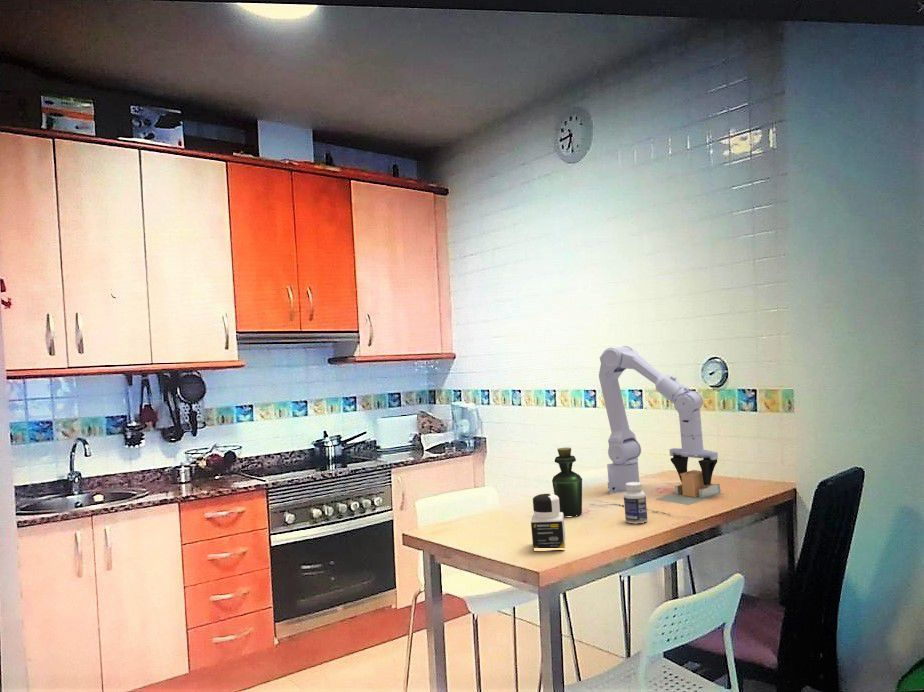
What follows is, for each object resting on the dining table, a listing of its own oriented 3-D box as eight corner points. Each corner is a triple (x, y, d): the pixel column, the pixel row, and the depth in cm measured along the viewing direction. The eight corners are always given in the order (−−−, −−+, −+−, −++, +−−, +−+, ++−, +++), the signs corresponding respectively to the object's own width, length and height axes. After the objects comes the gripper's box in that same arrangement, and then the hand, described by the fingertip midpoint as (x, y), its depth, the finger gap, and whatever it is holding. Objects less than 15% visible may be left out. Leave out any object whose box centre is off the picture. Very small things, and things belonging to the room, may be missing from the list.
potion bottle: (555, 511, 188) (550, 447, 188) (585, 510, 187) (579, 445, 187) (554, 518, 180) (548, 451, 180) (585, 517, 179) (579, 450, 179)
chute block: (696, 497, 185) (694, 475, 185) (681, 494, 189) (679, 473, 189) (709, 493, 188) (707, 471, 188) (695, 490, 192) (693, 470, 192)
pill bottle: (642, 525, 167) (639, 486, 167) (622, 523, 170) (619, 485, 170) (651, 520, 171) (647, 481, 171) (631, 518, 174) (627, 480, 174)
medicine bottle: (533, 552, 153) (528, 499, 153) (535, 543, 160) (531, 492, 160) (564, 551, 151) (560, 498, 151) (565, 542, 158) (561, 491, 158)
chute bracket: (702, 498, 183) (701, 489, 183) (675, 494, 191) (674, 485, 191) (720, 493, 188) (719, 484, 188) (693, 489, 195) (692, 480, 195)
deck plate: (688, 509, 178) (688, 504, 178) (655, 503, 187) (655, 499, 187) (724, 497, 187) (724, 493, 187) (691, 492, 196) (691, 488, 196)
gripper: (661, 435, 193) (665, 482, 193) (704, 438, 181) (709, 488, 181) (676, 432, 197) (680, 478, 197) (720, 434, 185) (724, 484, 185)
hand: (695, 483), depth 189 cm, fingers open, 7 cm apart
